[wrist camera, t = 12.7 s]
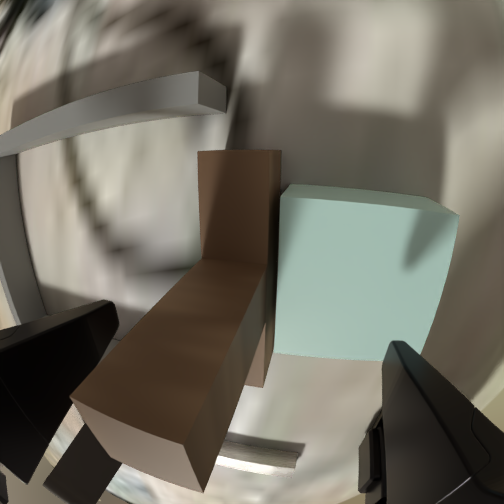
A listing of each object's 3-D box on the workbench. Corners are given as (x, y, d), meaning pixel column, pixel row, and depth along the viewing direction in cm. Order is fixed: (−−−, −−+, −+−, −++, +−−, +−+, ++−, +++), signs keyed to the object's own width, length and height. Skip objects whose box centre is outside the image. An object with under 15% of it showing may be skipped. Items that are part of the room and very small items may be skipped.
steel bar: (298, 449, 18) (295, 468, 17) (295, 459, 19) (291, 477, 17) (161, 419, 21) (151, 435, 19) (165, 430, 22) (156, 446, 20)
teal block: (425, 196, 10) (459, 215, 7) (401, 315, 13) (417, 361, 9) (291, 183, 12) (280, 196, 8) (285, 307, 14) (273, 352, 11)
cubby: (226, 87, 10) (198, 70, 8) (232, 381, 16) (217, 417, 13) (9, 141, 14) (-21, 147, 11) (43, 322, 20) (22, 338, 17)
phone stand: (92, 413, 24) (38, 482, 13) (135, 443, 24) (88, 518, 13) (87, 432, 28) (46, 487, 17) (123, 457, 28) (85, 516, 17)
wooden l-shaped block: (281, 150, 11) (125, 163, 2) (273, 348, 15) (219, 524, 6) (225, 149, 12) (0, 185, 3) (230, 342, 15) (151, 502, 6)
